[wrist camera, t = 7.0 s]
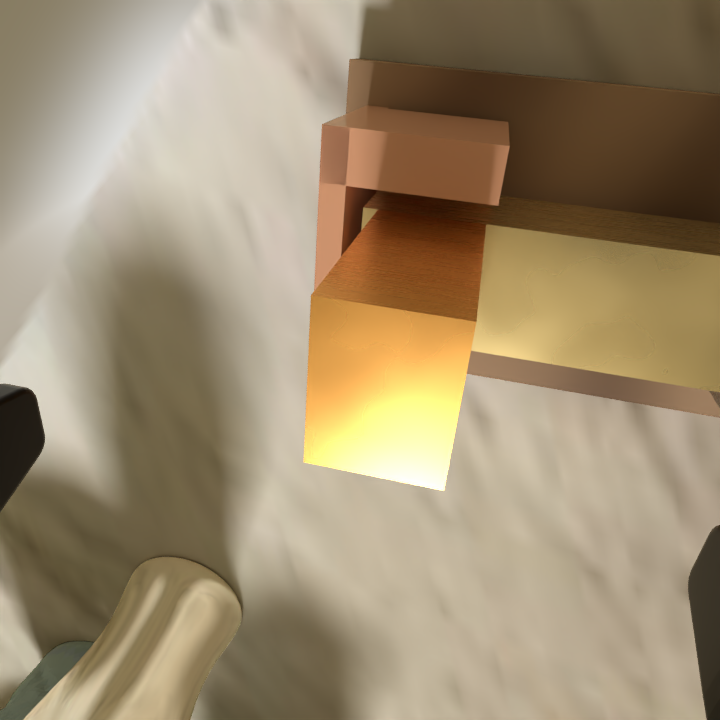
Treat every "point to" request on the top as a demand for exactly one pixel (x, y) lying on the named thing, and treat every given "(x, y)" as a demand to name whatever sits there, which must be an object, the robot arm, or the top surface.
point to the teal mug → (43, 679)
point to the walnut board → (576, 171)
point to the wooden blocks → (495, 316)
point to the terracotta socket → (401, 167)
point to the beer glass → (150, 648)
